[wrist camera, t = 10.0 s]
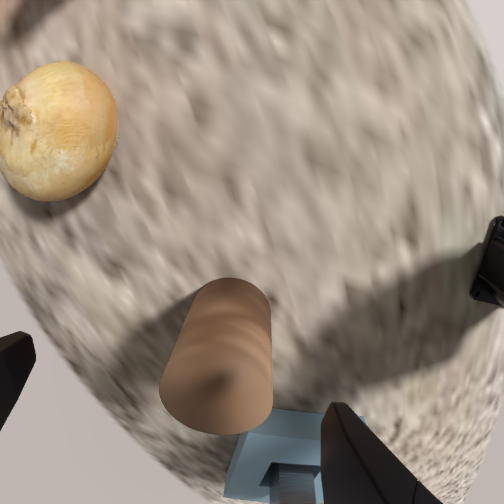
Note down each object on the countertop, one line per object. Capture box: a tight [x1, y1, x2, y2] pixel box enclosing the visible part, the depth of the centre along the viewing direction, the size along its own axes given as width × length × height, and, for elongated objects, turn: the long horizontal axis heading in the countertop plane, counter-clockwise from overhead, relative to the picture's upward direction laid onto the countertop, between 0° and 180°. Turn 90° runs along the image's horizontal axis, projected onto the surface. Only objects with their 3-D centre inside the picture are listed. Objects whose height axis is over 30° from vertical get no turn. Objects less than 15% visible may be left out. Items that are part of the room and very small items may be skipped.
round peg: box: [159, 278, 273, 435], centre depth 17 cm, size 5×5×8 cm
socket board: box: [224, 408, 366, 504], centre depth 24 cm, size 10×12×3 cm
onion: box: [0, 61, 119, 201], centre depth 14 cm, size 8×8×7 cm
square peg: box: [270, 462, 316, 504], centre depth 22 cm, size 3×3×8 cm
